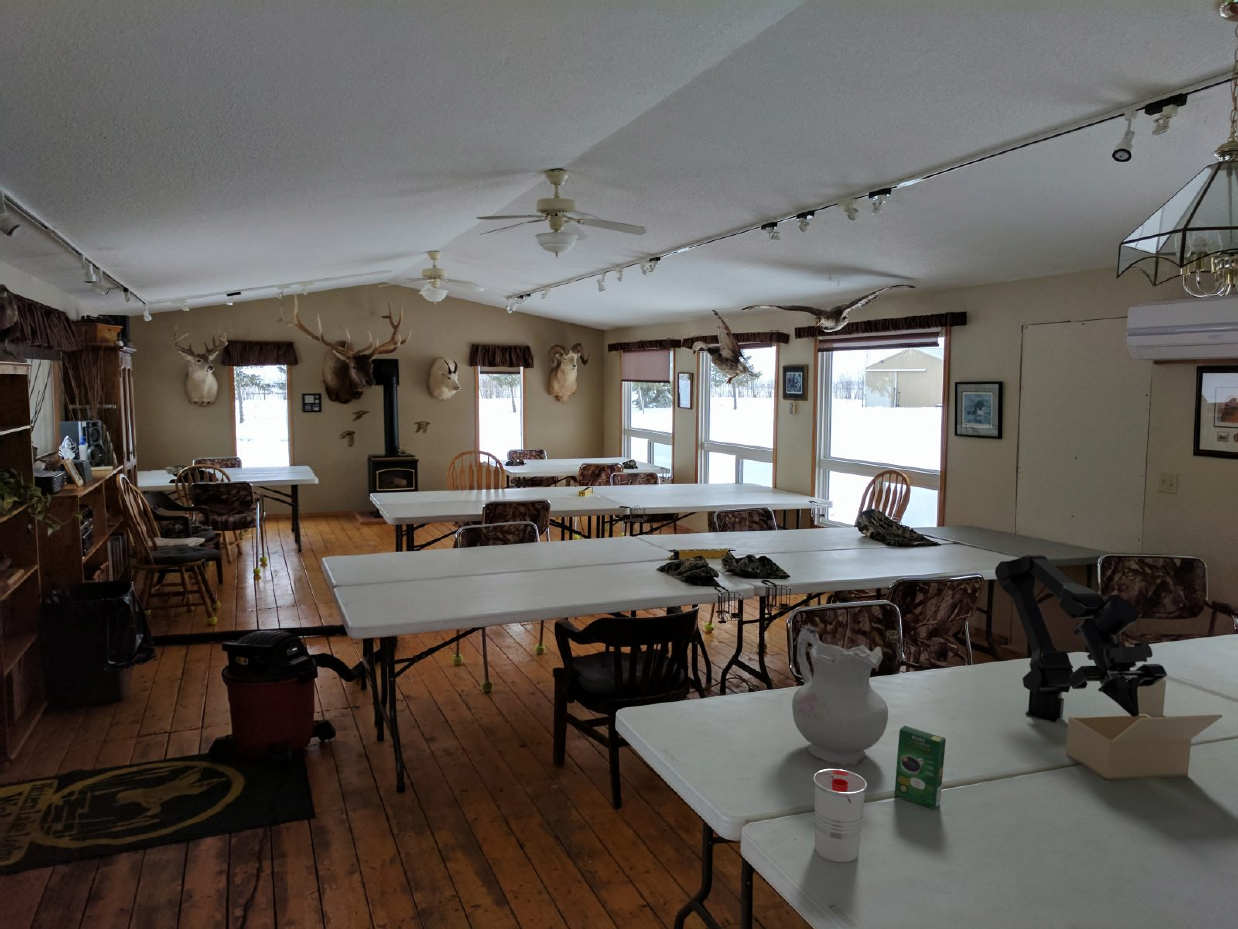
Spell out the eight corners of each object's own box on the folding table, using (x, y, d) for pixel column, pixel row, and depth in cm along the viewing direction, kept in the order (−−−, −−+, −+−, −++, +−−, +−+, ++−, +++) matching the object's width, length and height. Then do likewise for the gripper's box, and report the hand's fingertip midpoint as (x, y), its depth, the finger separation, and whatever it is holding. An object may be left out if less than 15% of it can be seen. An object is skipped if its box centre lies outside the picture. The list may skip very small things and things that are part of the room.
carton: (1065, 754, 178) (1068, 717, 178) (1142, 750, 181) (1145, 714, 180) (1106, 780, 167) (1109, 741, 166) (1187, 776, 169) (1191, 737, 168)
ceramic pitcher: (763, 752, 179) (763, 639, 175) (811, 719, 193) (812, 614, 189) (858, 787, 164) (861, 665, 160) (903, 749, 178) (906, 636, 174)
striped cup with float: (802, 835, 144) (805, 767, 142) (850, 834, 144) (854, 766, 143) (820, 868, 134) (824, 796, 133) (873, 867, 134) (877, 795, 133)
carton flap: (1140, 717, 159) (1141, 719, 158) (1221, 714, 161) (1222, 716, 161) (1111, 741, 166) (1112, 743, 166) (1189, 737, 168) (1190, 739, 168)
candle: (1167, 718, 199) (1170, 677, 198) (1141, 716, 200) (1144, 675, 199) (1157, 710, 205) (1160, 669, 204) (1132, 707, 206) (1135, 667, 205)
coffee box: (942, 806, 155) (947, 736, 154) (936, 811, 153) (941, 741, 151) (899, 791, 160) (903, 724, 159) (893, 796, 158) (897, 728, 157)
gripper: (1083, 628, 173) (1117, 701, 163) (1165, 626, 176) (1203, 698, 166) (1054, 652, 182) (1085, 723, 172) (1133, 650, 184) (1167, 720, 175)
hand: (1136, 716), depth 171 cm, fingers closed
